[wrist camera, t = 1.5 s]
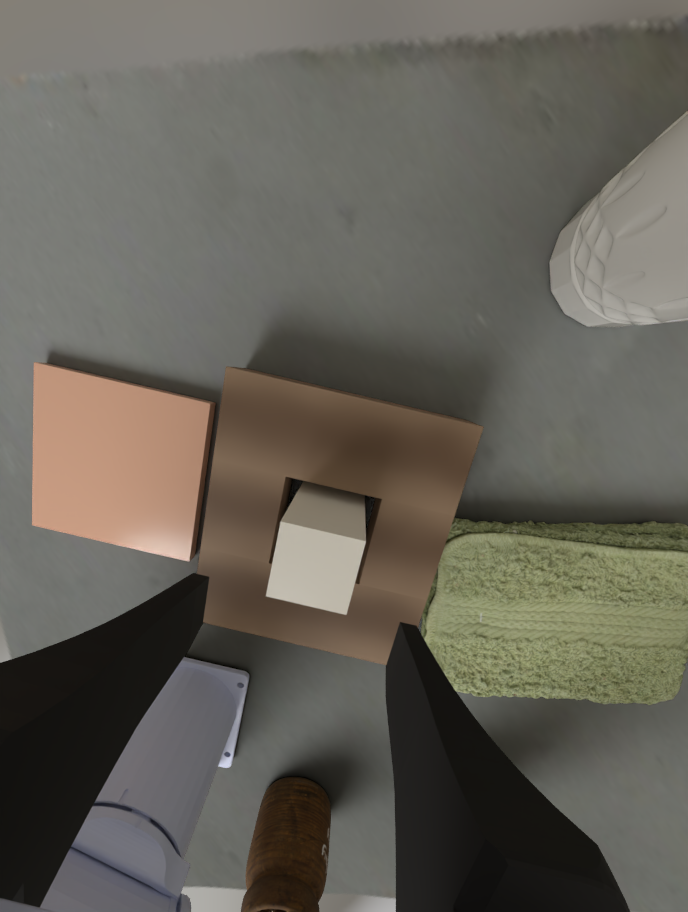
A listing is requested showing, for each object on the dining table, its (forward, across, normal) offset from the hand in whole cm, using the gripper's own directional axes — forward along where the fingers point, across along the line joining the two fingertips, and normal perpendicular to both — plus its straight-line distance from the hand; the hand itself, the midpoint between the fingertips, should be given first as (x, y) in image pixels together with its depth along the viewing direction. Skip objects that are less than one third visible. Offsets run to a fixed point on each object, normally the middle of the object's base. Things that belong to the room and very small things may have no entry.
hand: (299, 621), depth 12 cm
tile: (+10, +14, 0) cm, 17 cm away
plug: (+11, 0, 0) cm, 11 cm away
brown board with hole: (+10, 0, 0) cm, 11 cm away
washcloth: (+11, -16, +3) cm, 20 cm away
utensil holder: (+10, -3, +26) cm, 28 cm away
